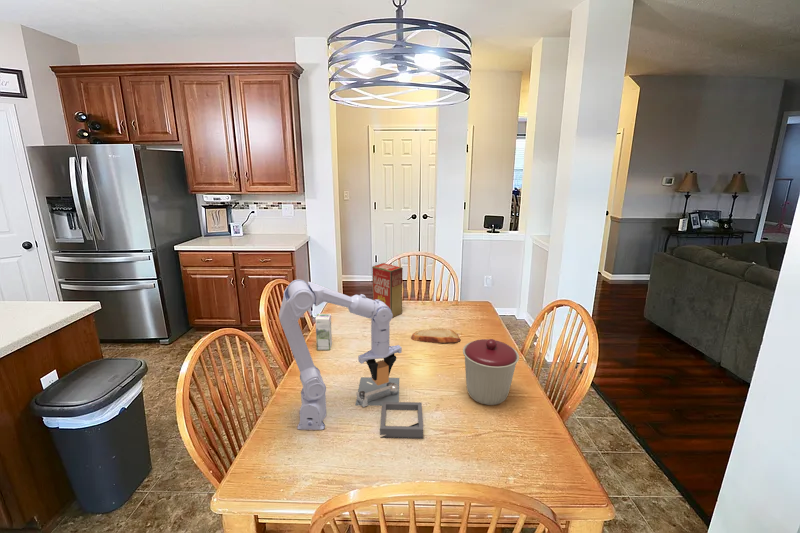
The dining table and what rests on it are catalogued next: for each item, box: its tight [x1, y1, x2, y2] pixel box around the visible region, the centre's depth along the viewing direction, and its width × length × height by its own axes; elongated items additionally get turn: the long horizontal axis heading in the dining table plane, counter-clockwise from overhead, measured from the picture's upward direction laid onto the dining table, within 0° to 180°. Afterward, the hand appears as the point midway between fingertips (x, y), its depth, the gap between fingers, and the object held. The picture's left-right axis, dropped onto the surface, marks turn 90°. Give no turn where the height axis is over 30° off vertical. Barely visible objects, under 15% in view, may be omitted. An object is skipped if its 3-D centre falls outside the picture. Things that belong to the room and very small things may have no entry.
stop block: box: [372, 359, 390, 385], centre depth 123 cm, size 4×4×6 cm
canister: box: [462, 338, 520, 406], centre depth 127 cm, size 18×18×21 cm
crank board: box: [355, 376, 400, 407], centre depth 130 cm, size 16×14×2 cm
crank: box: [356, 383, 398, 408], centre depth 126 cm, size 14×5×4 cm, turn 119°
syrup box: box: [314, 313, 333, 351], centre depth 159 cm, size 6×6×14 cm
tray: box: [379, 401, 424, 440], centre depth 115 cm, size 12×12×3 cm
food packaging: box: [371, 262, 403, 319], centre depth 194 cm, size 13×9×25 cm
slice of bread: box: [410, 327, 461, 344], centre depth 170 cm, size 18×18×4 cm
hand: (380, 376), depth 123 cm, fingers closed on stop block, 4 cm apart
